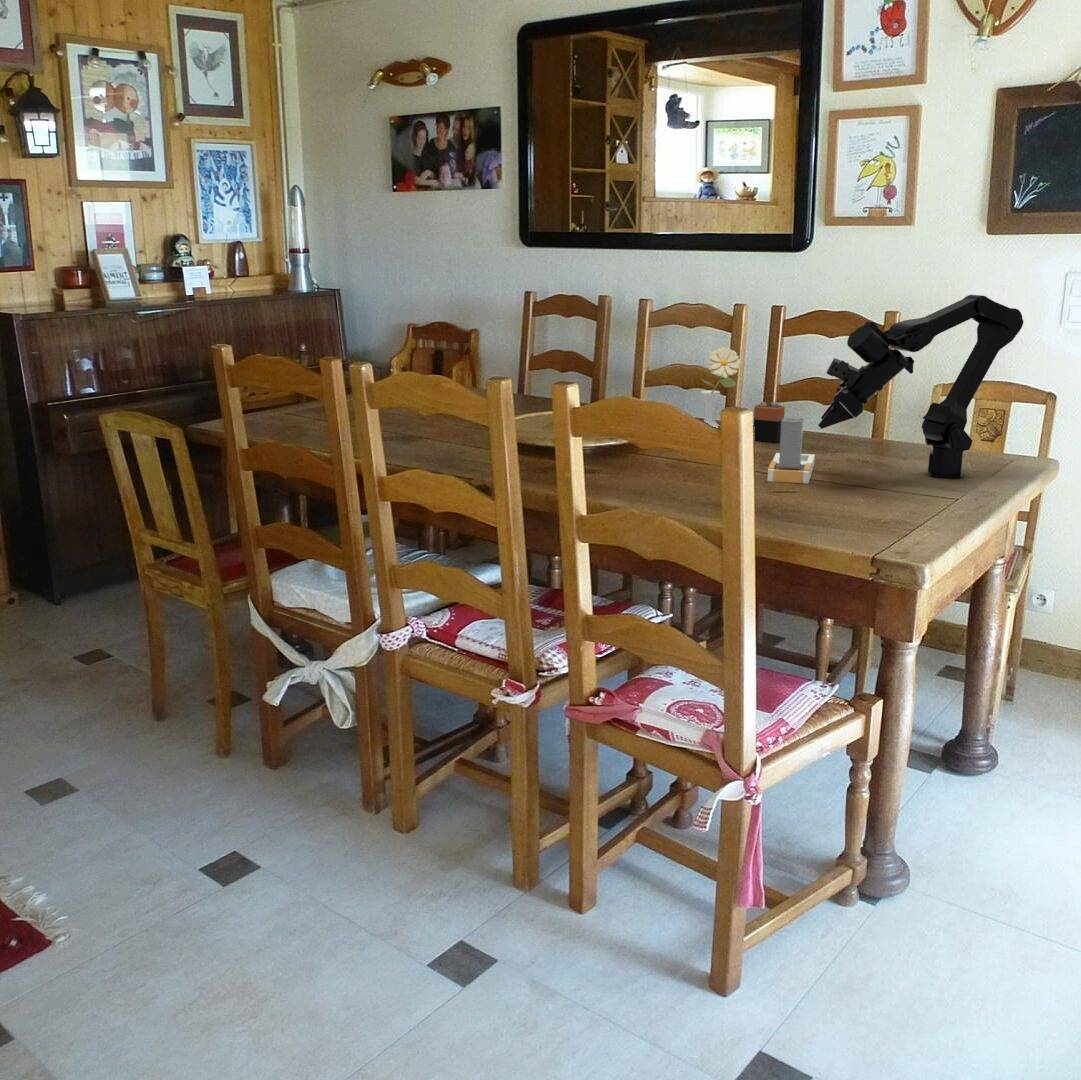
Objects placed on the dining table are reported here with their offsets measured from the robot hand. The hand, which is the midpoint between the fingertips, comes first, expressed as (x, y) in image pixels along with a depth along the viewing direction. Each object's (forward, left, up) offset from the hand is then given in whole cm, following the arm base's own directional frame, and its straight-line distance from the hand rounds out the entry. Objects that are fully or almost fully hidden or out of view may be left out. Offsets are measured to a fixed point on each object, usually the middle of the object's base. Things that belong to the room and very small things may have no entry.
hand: (821, 423), depth 233 cm
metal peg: (+6, 0, -13) cm, 14 cm away
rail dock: (+6, -5, -12) cm, 15 cm away
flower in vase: (+28, -31, -13) cm, 44 cm away
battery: (+15, -41, -13) cm, 45 cm away
